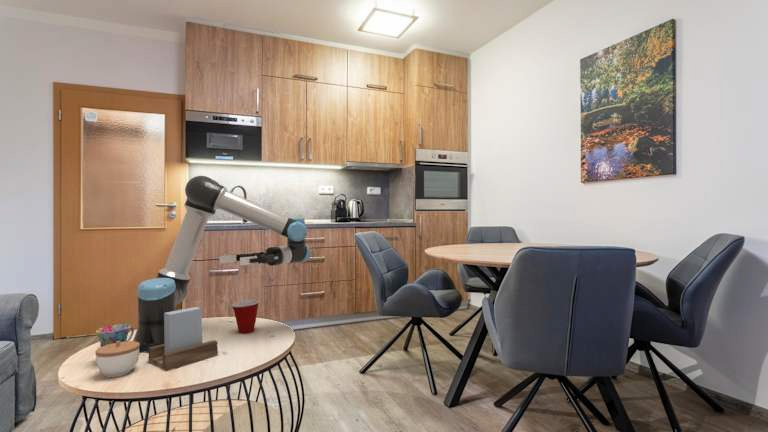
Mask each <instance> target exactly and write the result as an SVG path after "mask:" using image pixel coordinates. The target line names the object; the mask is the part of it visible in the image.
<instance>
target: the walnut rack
mask: <svg viewBox="0 0 768 432" xmlns="http://www.w3.org/2000/svg"><path fill="white" fill-rule="evenodd" d="M216 356H219V351H218V341H217V340H214V339H213V340H209V341H206V342H202V343H201V344H198V345H194V346H190V347H187V348H183V349H179V350H176V351H172V352H168V353H165V344H162V345H158V346H154V347H150V348H149V352H148V357H147V358H148V359H147V361H148V363H150V364H152V365H153V366H156V367H158V368H160V369H161V370H163V371H166V372H168V371H169V372H170V371H171V370H174V369H178V368H181V367H185V366H188V365H191V364H194V363H198V362H200V361H204V360H207V359H211V358H215V357H216Z"/></svg>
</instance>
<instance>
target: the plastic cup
mask: <svg viewBox="0 0 768 432" xmlns="http://www.w3.org/2000/svg"><path fill="white" fill-rule="evenodd" d="M259 303H260V300H259V299H248V300H242V301H237V302H235V303H231V305H230V306H231V307H232V309H233V312H234V316H235V321H236V325H237V330H238V331H237V332H238V333H239V334H242V335H243V334H246V335H247V334H251V333H254V331H255V327H256V326H255V325H256V322H257V313H258V309H259Z"/></svg>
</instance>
